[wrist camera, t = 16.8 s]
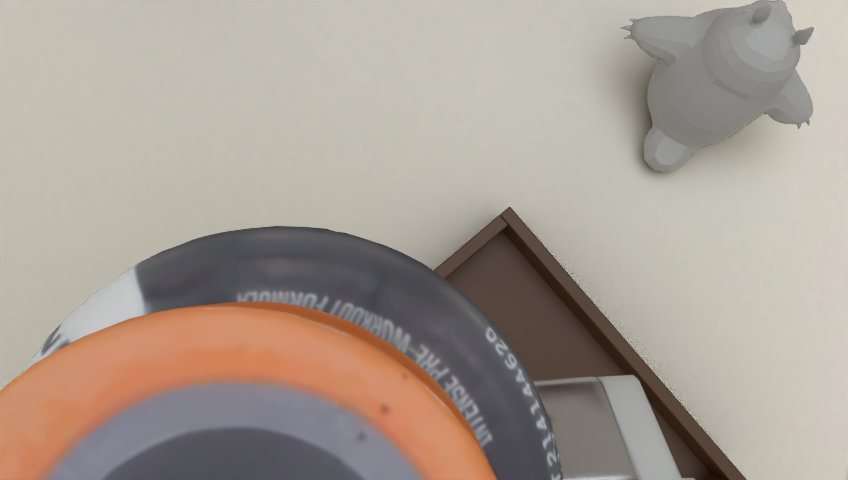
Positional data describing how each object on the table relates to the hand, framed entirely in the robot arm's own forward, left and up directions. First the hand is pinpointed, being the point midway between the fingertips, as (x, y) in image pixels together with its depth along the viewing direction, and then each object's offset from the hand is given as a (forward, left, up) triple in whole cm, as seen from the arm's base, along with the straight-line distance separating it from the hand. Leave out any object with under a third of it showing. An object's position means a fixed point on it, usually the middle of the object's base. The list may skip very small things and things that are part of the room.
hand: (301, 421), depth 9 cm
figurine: (+17, -1, -18) cm, 24 cm away
